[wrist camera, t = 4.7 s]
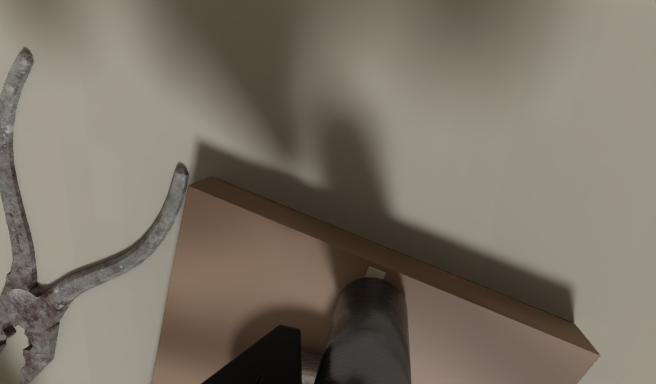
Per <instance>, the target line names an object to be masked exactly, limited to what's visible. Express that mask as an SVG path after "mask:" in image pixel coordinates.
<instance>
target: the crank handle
mask: <svg viewBox="0 0 656 384" xmlns="http://www.w3.org/2000/svg"><path fill="white" fill-rule="evenodd" d="M301 357H302V384H412V383H411V365H410V346H409V328H408V310H407V303H406V300H405V298H404V296H403V295H402V293H401V292H400V291H399V290H398V289H397V288H396V287H395V286H394V285H392V284H391V283H389V282H387V281H385V280H383V279H379V278H374V277H364V278H359V279H356V280H354V281H352V282H350V283H349V284H347V285H346V286H345V287H344V289H343V290H342V292H341V294H340V296H339V299H338V303H337V306H336V310H335V313H334V317H333V320H332V323H331V327H330V330H329V334H328V337H327V340H326V344H325V347H324V351H323V354H322V355H321V354H317V353H312V352H305V351H301Z"/></svg>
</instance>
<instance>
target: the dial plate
mask: <svg viewBox="0 0 656 384" xmlns="http://www.w3.org/2000/svg"><path fill="white" fill-rule="evenodd" d="M364 277H374V278H379V279H383V280H385V281H387V282H389V283H391V284H392V285H394V286H395V287H396V288H397V289H398V290H399V291H400V292H401V293H402V295H403V296H404V298H405V300H406V303H407V310H408V328H409V346H410V365H411V383H412V384H577V383H578V382H579V381H580V380H581V378H582V377H583V376H584V375H585V374H586V373H587V371H588V370H589V369H590V368H591V367H592V365H593V364H594V363H595V362H596V361H597V360H598V358H599V357H600V354H599V353H598V352H597V351H596V349H595V348H594V347H593V346H592V344H591V343H590V342H589V341H588V340H587V338H586V337H585V336H584V335H583V333H582V332H581V331H580V330H579V328H578V327H577V326H576V325H575V324H574V323H571V322H569V321H566V320H564V319H561V318H559V317H556V316H554V315H551V314H549V313H546V312H544V311H541V310H539V309H537V308H534V307H532V306H529V305H527V304H524V303H522V302H519V301H517V300H514V299H512V298H509V297H507V296H504V295H502V294H500V293H497V292H495V291H492V290H490V289H487V288H485V287H482V286H480V285H477V284H475V283H472V282H470V281H467V280H465V279H463V278H460V277H458V276H455V275H453V274H450V273H448V272H445V271H443V270H440V269H438V268H435V267H433V266H430V265H428V264H426V263H423V262H421V261H418V260H416V259H413V258H411V257H408V256H406V255H403V254H401V253H398V252H396V251H393V250H391V249H389V248H386V247H384V246H381V245H379V244H376V243H374V242H371V241H369V240H366V239H364V238H361V237H359V236H356V235H354V234H352V233H349V232H347V231H344V230H342V229H339V228H337V227H334V226H332V225H329V224H327V223H324V222H322V221H319V220H317V219H315V218H312V217H310V216H307V215H305V214H302V213H300V212H297V211H295V210H292V209H290V208H287V207H285V206H282V205H280V204H278V203H275V202H273V201H270V200H268V199H265V198H263V197H260V196H258V195H255V194H253V193H250V192H248V191H245V190H243V189H241V188H238V187H236V186H233V185H231V184H228V183H226V182H223V181H221V180H218V179H216V178H213V177H209V178H206V179H204V180H201V181H199V182H196V183H194V184H191V185H189V186H188V189H187V194H186V200H185V205H184V211H183V216H182V221H181V227H180V232H179V238H178V243H177V248H176V254H175V259H174V265H173V270H172V276H171V281H170V286H169V292H168V297H167V303H166V308H165V313H164V319H163V324H162V330H161V335H160V341H159V346H158V351H157V357H156V362H155V368H154V373H153V378H152V384H201V383H202V382H204V381H205V380H206V379H208V378H209V377H210V376H212V375H213V374H214V373H216V372H217V371H218V370H219V369H221V368H222V367H223V366H225V365H226V364H227V363H229V362H230V361H231V360H233V359H234V358H235V357H237V356H238V355H239V354H241V353H242V352H243V351H245V350H246V349H247V348H249V347H250V346H251V345H253V344H254V343H255V342H257V341H258V340H259V339H261V338H262V337H263V336H265V335H266V334H267V333H269V332H270V331H271V330H272V329H274V328H275V327H276V326H278V325H280V324H284V325H288V326H292V327H297V328H300V329H301V351H305V352H312V353H317V354H321V355H322V354H323V351H324V347H325V344H326V340H327V337H328V334H329V330H330V327H331V323H332V320H333V317H334V313H335V310H336V306H337V303H338V299H339V296H340V294H341V292H342V290H343V289H344V287H345V286H346V285H347V284H349V283H350V282H352V281H354V280H356V279H359V278H364Z"/></svg>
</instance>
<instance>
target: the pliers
mask: <svg viewBox="0 0 656 384" xmlns="http://www.w3.org/2000/svg"><path fill="white" fill-rule="evenodd" d="M32 65H33V57H32V54H31V53H30V52H20V54H19V55H18V57H17V58H16V60H15V62H14V63H13V65H12V67H11V69H10V71H9V73H8V76H7V78H6V80H5V83H4V87H3V90H2V93H1V97H0V193H1V197H2V202H3V207H4V211H5V216H6V220H7V225H8V229H9V234H10V240H11V246H12V255H13V264H12V269H11V272H9V273H8V274H7V277H6V283H5V289H4V292H3V293H2V295H1V297H0V352H1V351H2V349H3V348H4V347H5V345H6V339H7V338H9V337H11V336H12V335H14V334H15V333H16V330H15V328H14V327H13V326H17V325H20V326H21V327H22V328H24V329H25V335H26V336H27V337H28V338H29V339H30V340H31V343H32V344H31V345H29V346H28V347H26V348H25V349H23V355H24V357H25V362H26V364H25V366H24V367H23V368H22V369H21V381H20V384H28V383H29V382H31V381H32V380H33V379H34V378H35V377H36V376H37V375H38V374H39V373H40V372H41V371H42V370H43V369H44V368H45V367H46V366H47V365H48V364H49V363H50V362H51V361H52V360H53V359H54V353H55V347H56V341H57V335H58V329H59V321H60V319H61V318H62V316H63V315H64V313H65V311H66V310H67V308H68V306H69V304H70V303H71V302H72V301H73V300H74V299H75V298H76V297H77V296H79V295H80V294H81V293H83V292H85V291H87V290H89V289H91V288H93V287H95V286H97V285H100V284H102V283H104V282H106V281H108V280H111V279H113V278H115V277H117V276H119V275H122V274H124V273H126V272H127V271H129V270H131V269H132V268H134V267H136V266H137V265H139V264H141V263H142V262H143V261H144V260H145V259H146V258H148V257H149V256H150V255H151V254H152V253H153V252H154V251H155V250H156V248H157V247H158V246H159V245H160V243H161V242H162V241H163V239H164V238H165V236H166V235H167V233H168V231H169V230H170V228H171V226H172V225H173V223H174V221H175V219H176V217H177V214H178V212H179V210H180V207H181V205H182V202H183V198H184V195H185V192H186V188H187V183H188V177H189V174H188V171H187V169H186V168H184V167H182V168H180V169H177V170H175V173H174V176H173V179H172V182H171V186H170V189H169V193H168V196H167V199H166V202H165V204H164V206H163V209H162V211H161V213H160V216H159V217H158V219H157V220H156V222H155V223H154V225H153V227H152V228H151V230H150V231H149V232H148V234H147V235H146V236H145V237H144V238H143V239H142V241H141V242H140V243H139V244H138V245H136V246H135V247H134V248H133V249H131V250H130V251H129V252H127V253H125V254H123V255H121V256H119V257H117V258H114V259H112V260H110V261H107V262H104V263H102V264H99V265H97V266H94V267H91V268H88V269H85V270H82V271H80V272H77V273H75V274H73V275H70V276H68V277H67V278H65V279H63V280H62V281H60V282H59V283H57V284H56V285H54V286H53V287H52V288H50V289H49V290H48V291H46V292H45V291H43V290H42V289H41V288H40V287H38V285H37V270H36V260H35V252H34V246H33V241H32V237H31V233H30V229H29V225H28V222H27V218H26V214H25V210H24V207H23V203H22V199H21V194H20V190H19V186H18V181H17V177H16V171H15V166H14V157H13V130H14V121H15V114H16V108H17V104H18V101H19V97H20V94H21V91H22V88H23V86H24V83H25V81H26V79H27V77H28V74H29V72H30V70H31V67H32Z"/></svg>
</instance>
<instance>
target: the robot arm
mask: <svg viewBox="0 0 656 384" xmlns="http://www.w3.org/2000/svg"><path fill="white" fill-rule="evenodd" d="M201 384H302V357H301V329H300V328H297V327H292V326H288V325H284V324H280V325H278V326H276V327H275V328H274V329H272V330H271V331H270V332H269V333H267V334H266V335H265V336H263V337H262V338H261V339H259V340H258V341H257V342H255V343H254V344H253V345H251V346H250V347H249V348H247V349H246V350H245V351H243V352H242V353H241V354H239V355H238V356H237V357H235V358H234V359H233V360H231V361H230V362H229V363H227V364H226V365H225V366H223V367H222V368H221V369H219V370H218V371H217V372H216V373H214V374H213V375H212V376H210V377H209V378H208V379H206V380H205V381H204V382H202V383H201Z"/></svg>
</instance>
